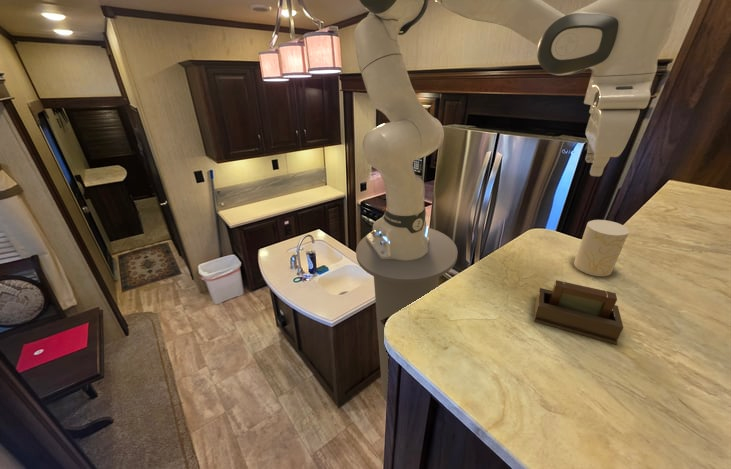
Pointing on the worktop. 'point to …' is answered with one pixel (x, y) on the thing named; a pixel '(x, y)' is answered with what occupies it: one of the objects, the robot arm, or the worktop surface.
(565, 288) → the frame
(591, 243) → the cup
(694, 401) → the worktop surface
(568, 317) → the holder
